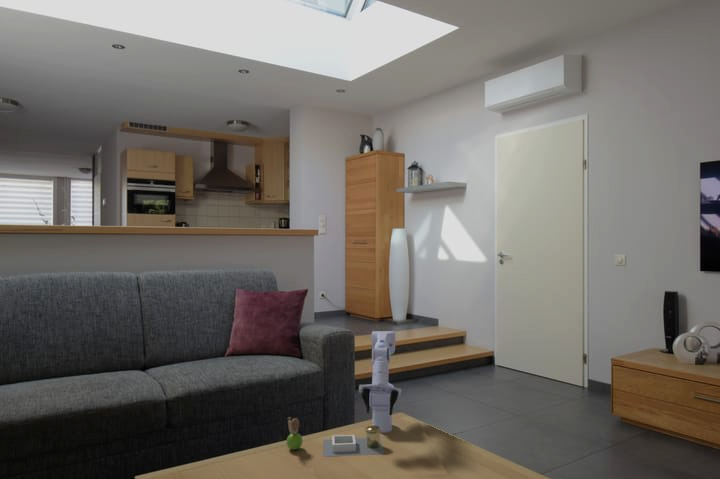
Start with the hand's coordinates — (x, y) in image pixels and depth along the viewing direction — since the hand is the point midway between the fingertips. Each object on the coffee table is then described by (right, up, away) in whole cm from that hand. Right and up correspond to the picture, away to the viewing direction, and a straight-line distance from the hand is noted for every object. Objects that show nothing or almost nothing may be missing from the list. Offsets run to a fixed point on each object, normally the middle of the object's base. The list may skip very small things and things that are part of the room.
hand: (379, 412), depth 165 cm
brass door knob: (-2, -13, +4) cm, 14 cm away
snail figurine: (-29, -14, +4) cm, 33 cm away
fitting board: (-9, -14, +4) cm, 17 cm away
